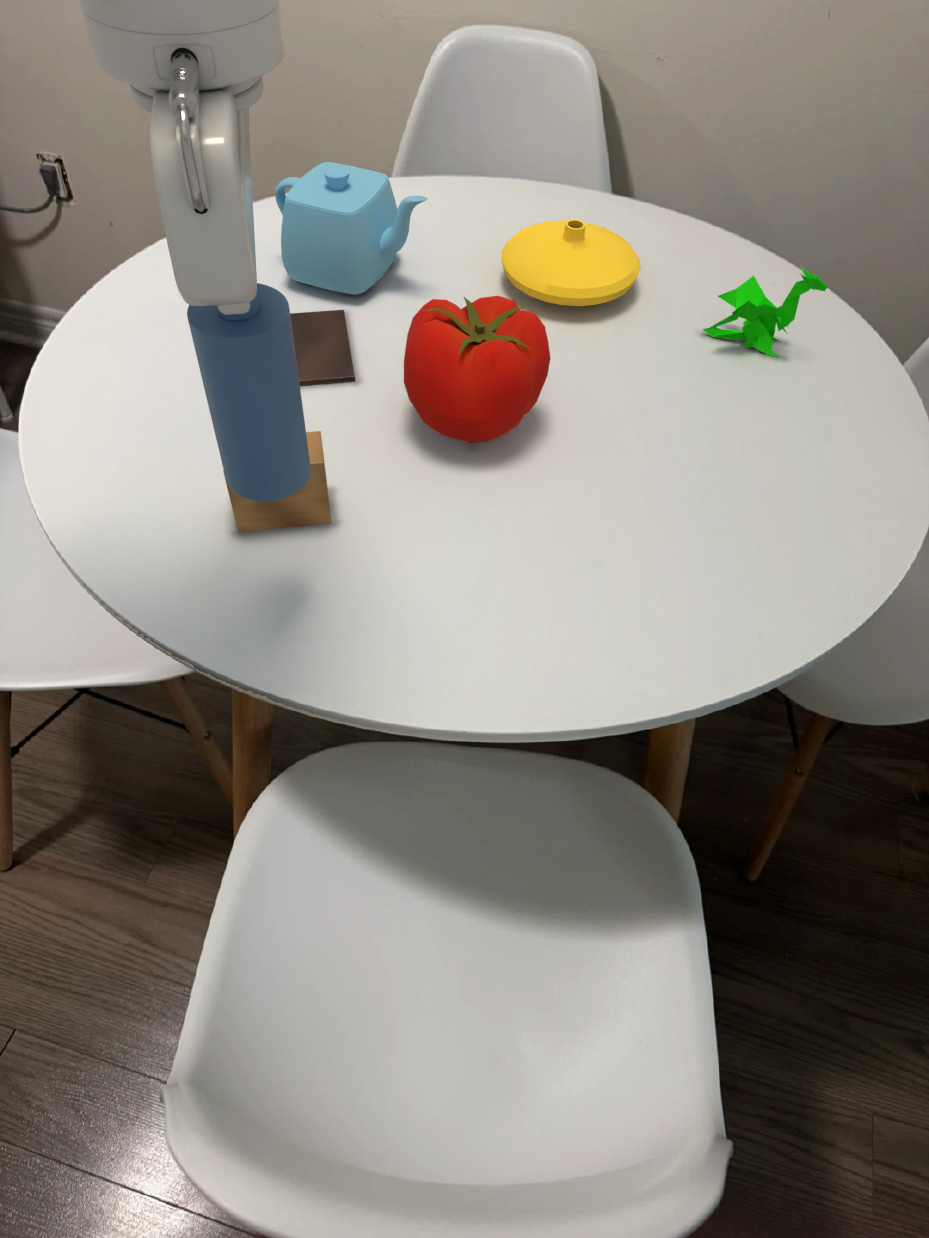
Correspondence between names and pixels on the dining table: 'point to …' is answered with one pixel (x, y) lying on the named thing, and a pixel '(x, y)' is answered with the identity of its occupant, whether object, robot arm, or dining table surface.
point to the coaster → (322, 347)
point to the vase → (570, 263)
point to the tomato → (475, 366)
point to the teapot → (341, 226)
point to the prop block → (289, 500)
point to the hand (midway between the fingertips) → (234, 288)
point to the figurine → (762, 312)
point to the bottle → (254, 395)
